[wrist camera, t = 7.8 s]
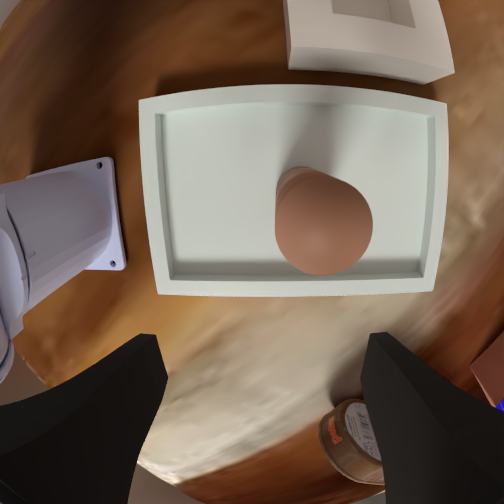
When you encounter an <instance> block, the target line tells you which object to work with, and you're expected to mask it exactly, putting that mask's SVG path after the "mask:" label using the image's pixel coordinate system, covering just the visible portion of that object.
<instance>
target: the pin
mask: <svg viewBox="0 0 504 504" xmlns="http://www.w3.org/2000/svg"><path fill="white" fill-rule="evenodd" d="M372 232H373V218H372V213H371V210H370V207H369V205H368V203H367V201H366V199H365V198H364V197H363V195H362V194H361V193H360V192H359V191H358V190H357V189H356V188H355V187H353V186H352V185H350V184H348V183H347V182H345V181H342V180H340V179H337V178H335V177H333V176H330V175H328V174H325V173H323V172H320V171H318V170H315V169H312V168H310V167H304V166H299V167H294V168H291V169H289V170H288V171H286V172H285V173H284V174H283V175H282V176H281V177H280V179H279V181H278V183H277V186H276V201H275V237H276V242H277V244H278V247H279V249H280V251H281V253H282V254H283V256H284V257H285V258H286V259H287V261H288V262H289V263H291V264H292V265H293V266H294V267H296V268H297V269H299V270H301V271H303V272H306V273H309V274H313V275H332V274H336V273H339V272H342V271H344V270H346V269H348V268H349V267H351V266H352V265H354V264H355V263H356V262H357V261H358V260H359V259H360V258H361V257H362V256H363V254H364V253H365V251H366V250H367V248H368V246H369V243H370V241H371V237H372Z"/></svg>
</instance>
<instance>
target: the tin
mask: <svg viewBox="0 0 504 504" xmlns="http://www.w3.org/2000/svg"><path fill="white" fill-rule="evenodd" d="M318 432H319V440H320V443H321V446H322V449H323V451H324V453H325V455H326V456H327V458H328V459H329V461H330V462H331V463H332V465H333V466H334V467H335V468H336V469H337V470H338V471H339V472H341V473H342V474H343V475H344V476H346V477H348V478H350V479H351V480H354V481H356V482H360V483H367V484H377V485H385V483H384V475H383V467H382V461H381V457H380V452H379V449H378V445H377V442H376V439H375V435H374V432H373V428H372V425H371V422H370V419H369V415H368V412H367V409H366V405H365V402H364V400H360V399H347V400H345V401H343V402H342V403H340V404H339V405H338V406H337V407H336V408H335V409H333V410H332V411H331V412H330V413H328V414H326V415H325V416H324V417H323V418H322V420H321V421H320V424H319V430H318Z"/></svg>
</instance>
